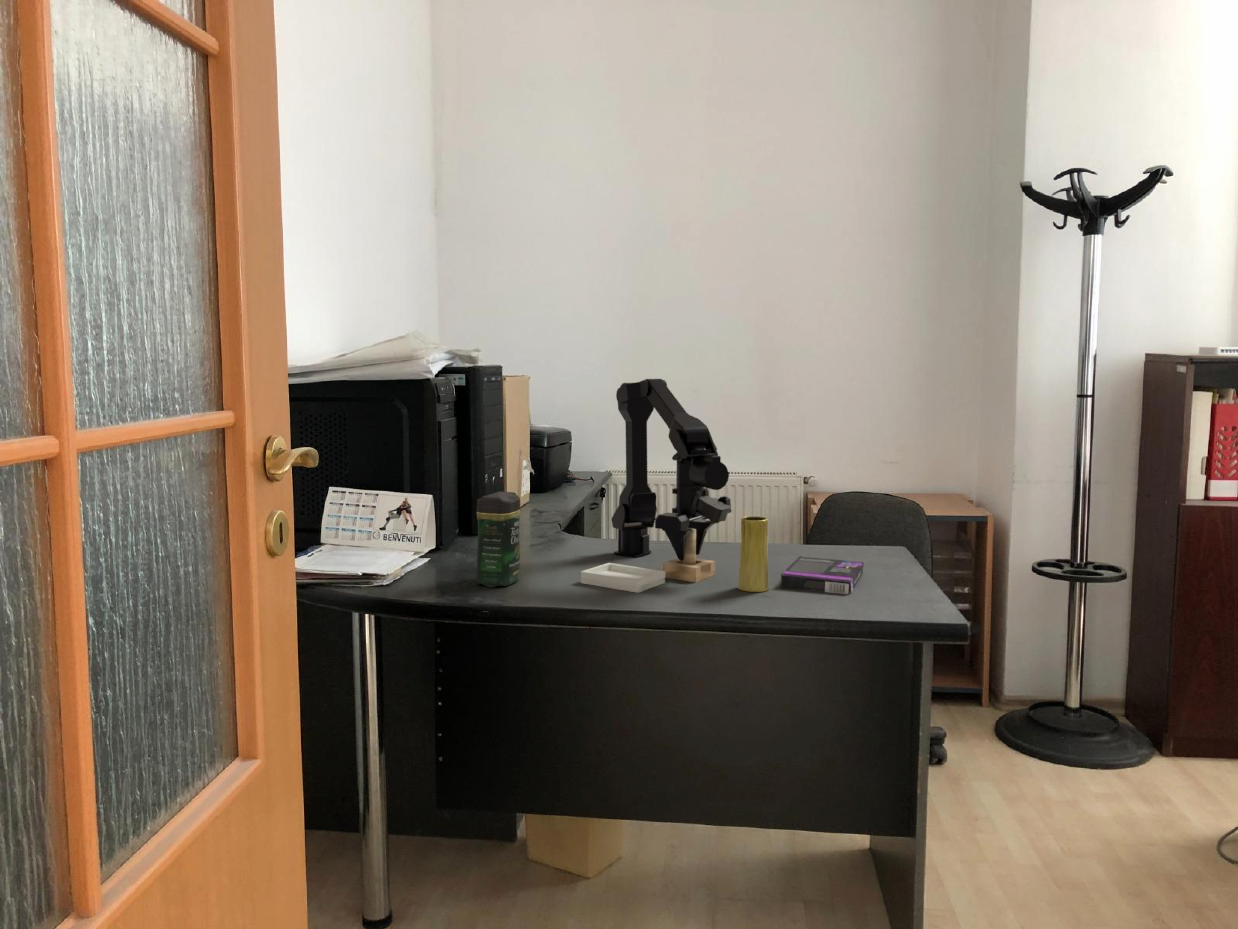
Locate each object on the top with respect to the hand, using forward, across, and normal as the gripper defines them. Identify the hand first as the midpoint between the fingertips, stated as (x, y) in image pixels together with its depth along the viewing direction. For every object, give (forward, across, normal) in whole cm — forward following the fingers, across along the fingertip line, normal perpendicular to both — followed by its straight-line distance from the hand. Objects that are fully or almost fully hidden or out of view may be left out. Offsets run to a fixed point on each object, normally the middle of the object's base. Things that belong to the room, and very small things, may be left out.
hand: (689, 557), depth 208 cm
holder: (+4, 0, 0) cm, 4 cm away
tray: (+4, -13, +8) cm, 16 cm away
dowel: (+4, 0, 0) cm, 4 cm away
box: (+5, +13, -25) cm, 28 cm away
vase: (+4, -2, -16) cm, 17 cm away
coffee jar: (+4, -27, +29) cm, 40 cm away
